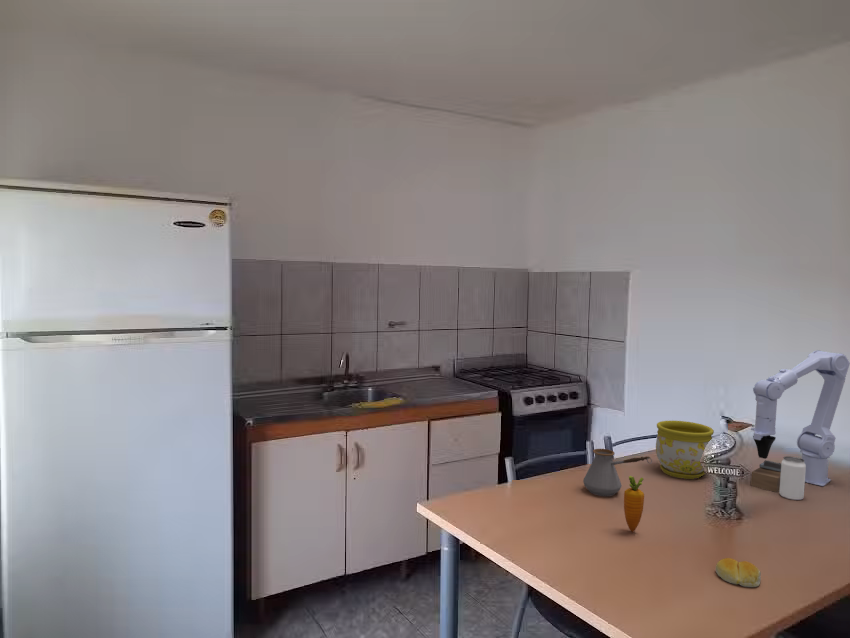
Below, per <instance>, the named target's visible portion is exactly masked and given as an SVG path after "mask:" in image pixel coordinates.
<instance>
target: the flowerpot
mask: <svg viewBox="0 0 850 638" xmlns="http://www.w3.org/2000/svg"><path fill="white" fill-rule="evenodd" d="M656 428H657V435H656V436H657V437H656V440H655V441H656V442H655V453H656V457H657V459H658V461H659V463H660V465H659V467H660V469H661V470H662V472H663V473H664V474H666V475H668V476H670V477H673V478H677V479H682V478H684V480H695V479H694V478H698V479H700V478H699V477H701V476H702V477H703V476H704V475H706V472H705V473H704V471H705V470H704V468H703V466H702V464H701V463H700V459H701V457H702V454H703V452H704V449H705V447H706V445H707V444H708V442H709V441H710V440H711V439H712V440H713V437H712V436H713V435H714V433H715V432H714V431H715V430H714V429H713V428H712V427H710V426H707V425H706V424H702V423H697V422H691V421H685V420H662V421H659V422H657V423H656ZM712 440H711V441H712ZM702 477H701V478H702Z"/></svg>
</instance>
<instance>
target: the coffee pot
mask: <svg viewBox="0 0 850 638" xmlns="http://www.w3.org/2000/svg"><path fill="white" fill-rule="evenodd" d="M592 452H593V453H594V458H593V460H592V462H591V464H590V466H589V468H588V470H587V472H586V473H585V476H584V478H583V481H582V482H583V485H584V487H585V488H586V489H587V490H588V491H589V493H591V494H593V495H595V496H600V497H612V496H614V495H616V494H617V493H618V492H619V491H620V490H621V488H622V487H623V486H622V482H621V480H620V477H619V474H618V472H617V469H616V468H617V467H616V465H621V464H628V463H637V462H640V461H642V462H643V461H645V460H646V462H647V464H652V463H653V459H652V458H651V457H650V456H640V457H632V458H627V459H623V460H617V461H613V457H614V455H615V454H616V453H615V451H614V450H612V449H611V450H610V449H607V448H595V449H593V451H592ZM649 459H650V462H649V461H648V460H649Z"/></svg>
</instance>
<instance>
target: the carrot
mask: <svg viewBox="0 0 850 638" xmlns="http://www.w3.org/2000/svg"><path fill="white" fill-rule="evenodd" d="M628 480H629V483H630V484H629V483H628V485H629V487H628V488H626V489H625V490H624V493H623V511H624V517H625V521H626V524H627V527H628V529H629V531H630V532H631V533H634V532H635V531H636V529H637V528H638V526H639V524H640V523H641V518H642V516H643V512H644V503H645V493H644V491H642V490H641V489H639V487H640V486H642V485H643V481H644V477H640V478H639V480H638V482H636V480H635V477H634V476H632V475H629V476H628Z"/></svg>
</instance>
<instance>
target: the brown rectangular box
mask: <svg viewBox="0 0 850 638" xmlns="http://www.w3.org/2000/svg"><path fill="white" fill-rule="evenodd" d="M780 476H781V473H780V472H775V471H771V470H768V469H767V468H762V467H758V468H756V469H754V470H753V471H751V478H750V486H751V487H753V488H754V487H755V488H758V489H762V490H766V491H769V492H770V491H771V492H774V493H778V492H779V491H780Z"/></svg>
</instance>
